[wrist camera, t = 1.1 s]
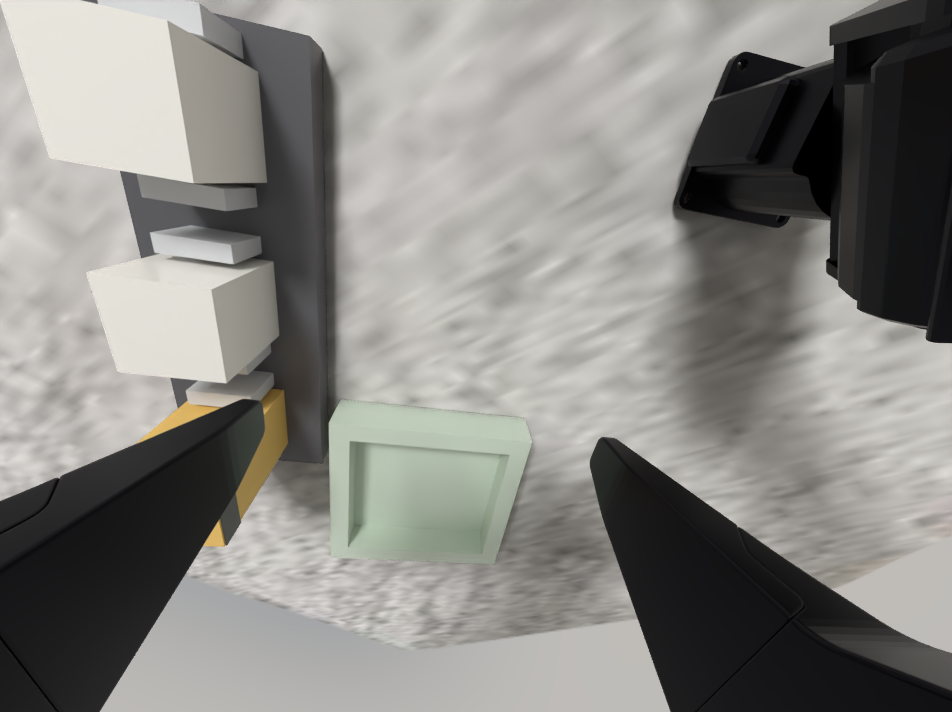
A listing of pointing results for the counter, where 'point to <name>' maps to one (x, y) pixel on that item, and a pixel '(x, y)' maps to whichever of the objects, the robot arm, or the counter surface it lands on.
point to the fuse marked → (258, 468)
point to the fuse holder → (257, 219)
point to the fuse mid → (186, 315)
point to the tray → (422, 482)
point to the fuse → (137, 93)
